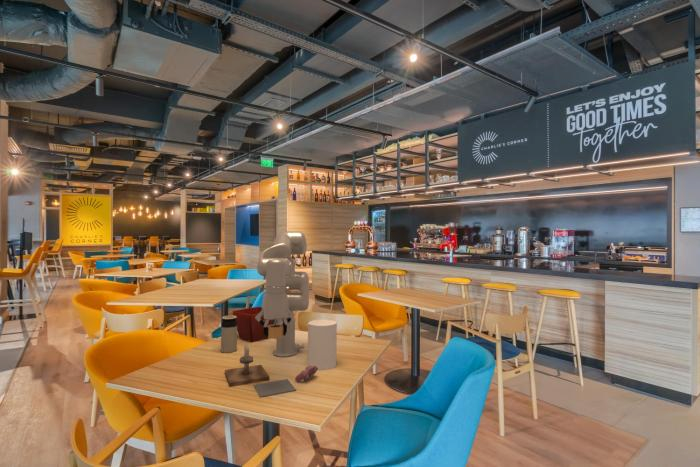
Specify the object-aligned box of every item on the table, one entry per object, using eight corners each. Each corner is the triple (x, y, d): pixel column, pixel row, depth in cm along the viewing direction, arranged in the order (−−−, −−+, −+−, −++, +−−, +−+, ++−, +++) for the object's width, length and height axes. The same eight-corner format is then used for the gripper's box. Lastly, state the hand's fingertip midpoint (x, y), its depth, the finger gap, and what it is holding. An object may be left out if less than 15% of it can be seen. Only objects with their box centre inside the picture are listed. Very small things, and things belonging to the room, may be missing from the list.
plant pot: (231, 338, 212) (231, 310, 212) (258, 332, 227) (258, 306, 227) (249, 344, 200) (250, 314, 200) (277, 338, 214) (277, 310, 215)
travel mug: (233, 353, 185) (234, 318, 185) (218, 353, 185) (219, 318, 185) (238, 348, 193) (239, 315, 193) (224, 348, 193) (224, 315, 193)
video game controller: (301, 387, 146) (307, 373, 144) (293, 380, 148) (299, 366, 147) (315, 379, 154) (321, 366, 153) (307, 372, 157) (313, 359, 155)
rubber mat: (287, 379, 149) (287, 379, 149) (296, 390, 139) (296, 389, 139) (253, 385, 143) (253, 384, 143) (260, 397, 132) (260, 396, 132)
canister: (341, 366, 165) (341, 323, 166) (314, 371, 159) (315, 327, 159) (328, 358, 177) (329, 318, 178) (303, 362, 171) (303, 321, 171)
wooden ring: (280, 333, 146) (281, 323, 146) (285, 337, 140) (285, 327, 140) (265, 335, 143) (265, 325, 143) (268, 339, 137) (269, 328, 137)
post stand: (261, 367, 163) (261, 339, 164) (269, 380, 149) (269, 349, 149) (224, 373, 156) (225, 343, 157) (229, 386, 142) (229, 354, 142)
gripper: (293, 288, 149) (293, 331, 148) (251, 290, 141) (251, 335, 141) (299, 290, 142) (298, 335, 142) (255, 292, 135) (254, 340, 134)
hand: (275, 335), depth 141 cm, fingers closed on wooden ring, 6 cm apart
